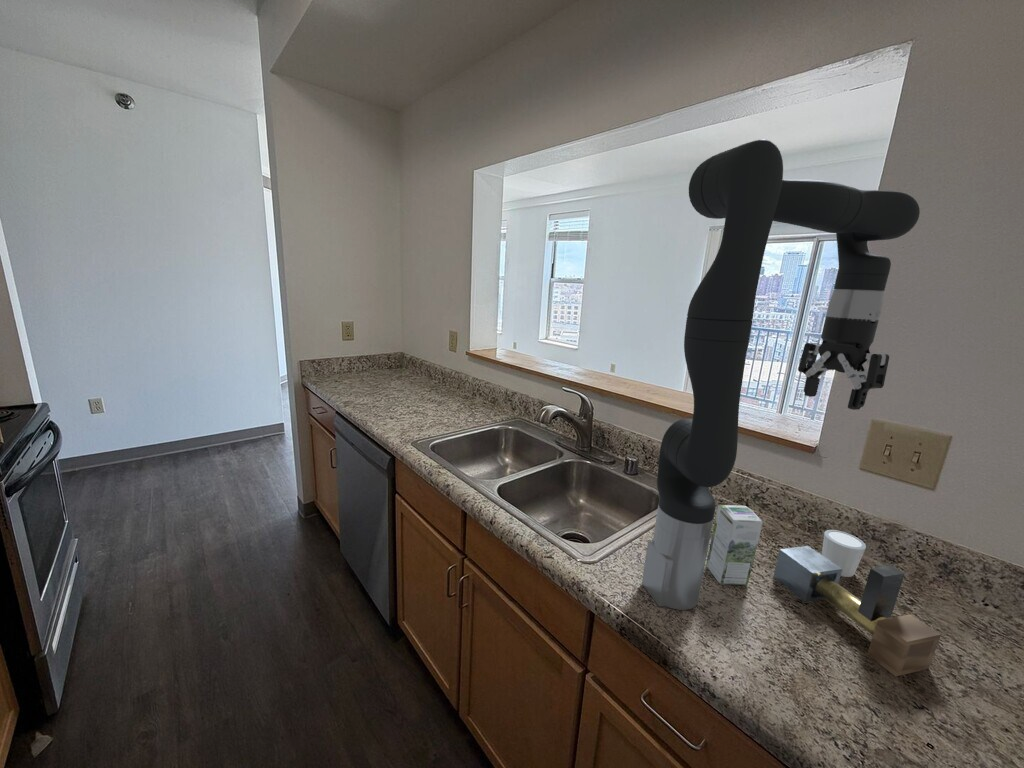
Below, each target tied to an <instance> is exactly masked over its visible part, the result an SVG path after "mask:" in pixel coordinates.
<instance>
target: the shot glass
mask: <svg viewBox="0 0 1024 768" xmlns="http://www.w3.org/2000/svg"><path fill="white" fill-rule="evenodd" d="M866 548H867V545H866V543H865V542H864V541H863V540H862V539H860V538H858V537H856V536H855V535H852V534H851V533H848V532H845V531H842V530H836V529H827V530H825V531H824V534H823V542H822V549H821V555H823V556H824V557H826V558H827V559H829V560H830V561H832V562H833V563H835V564H836V565H838V566H839V567H841V568H842V572H841V576H840V577H845V578H850V577H851V578H852V577H853V576H855V573H856V571H857V568H858V566H859V564H860V562H861V559H862V557H863V555H864V553H865V551H866Z"/></svg>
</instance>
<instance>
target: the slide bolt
mask: <svg viewBox="0 0 1024 768" xmlns="http://www.w3.org/2000/svg"><path fill="white" fill-rule="evenodd" d="M905 575H906V573H905V572H903V571H902V570H900V569H899V568H897V567H895V566H894V565H892V564H891V565H884V566H877V567H871V568H870V570H869V574H868V577H867V580H866V583H865V586H864V589H863V593H862V597H861V599H860V598H858V597H857V596H855V595H854V594H852V593H851V592H850V591H849V590H847V589H846V588H844V587H843V586H841V585H840V584H839V583H838V584H837V583H836V582H834V581H833V580H832V579H830V578H829V577H825V578H822V579H821V580H820V581H819V582H818V583H817V585H816V592H817V593H818V594H819V595H821V596H822V597H823V598H824V599H825V600H826V601H827V602H828V603H830V604H831V605H832V606H834V608H836V609H837V610H839V611H840V612H841V613H842V614H844V615H845V616H847V618H849V619H850V620H852V621H853V622H855V623H856V624H857V625H858V626H859V627H861V628H862V629H864V630H865V631H866V632H868V633H869V634H870V635H872V636H873V634H874V631H875V628H876V625H877V621H878V620H883V619H888V618H892V615H893V613H894V608H895V606H896V602H897V600H898V599H897V598H898V597H899V593H900V590H901V587H902V584H903V582H904V581H903V580H904V577H905Z"/></svg>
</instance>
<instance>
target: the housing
mask: <svg viewBox="0 0 1024 768" xmlns="http://www.w3.org/2000/svg"><path fill="white" fill-rule="evenodd" d="M841 572H842V568H841V567H839V566H838V565H836V564H835V563H833V562H832V561H830V560H829V559H827V558H826V557H824V556H823V555H822V553H819V552H818V551H816V550H815V549H814V548H812V547H811V546H809V545H804V546H796V547H787V548H780V549H779V552H778V557H777V560H776V565H775V570H774V573H773V579H775V580H776V581H778V583H780V584H781V585H782V586H784V587H785V588H786V589H787V590H788V591H790V592H791V593H792V594H793V595H795V596H796V597H797V598H798V599H800V600H801V601H802V602H803V603H805V604H806V603H812V602H819V601H823V600H826V599H824V598H823V597H822V596H821V595H819V594H818V593H817V592H816V585H817V583H818V582H819V581H820V580H821V579H822V578H825V577H829V578H830V579H832V580H833V581H834V582H836V583H837V584H839V583H840V579H841V577H842V576H841Z"/></svg>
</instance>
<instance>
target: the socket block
mask: <svg viewBox="0 0 1024 768" xmlns="http://www.w3.org/2000/svg"><path fill="white" fill-rule="evenodd" d="M941 635H942V634H941V633H940V632H938V631H936V630H935V629H934V628H932V627H930V626H929V625H927V624H926V623H924V622H923V621H922V620H921V619H919V618H917V617H916V616H914V615H912V614H905V615H904V614H903V615H900V616H893V617H889V618H887V619H883V620H878V621H877V625H876V628H875V631H874V634H873V635H872V638H871V640H870V645H869V647H868V651H867V653H866V654H867V655H868V656H869V657H871V658H872V659H873V660H874V661H876V662H877V663H878V664H879V665H880V666H882V668H884V669H885V670H887V671H888V672H889V673H890V674H891V675H892V676H894V677H899V676H903V675H907V674H912V673H916V672H920V671H924V670H927V669H929V668H930V666H931V664H932V660H933V658H934V656H935V652H936V649H937V647H938V644H939V641H940V638H941Z"/></svg>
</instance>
